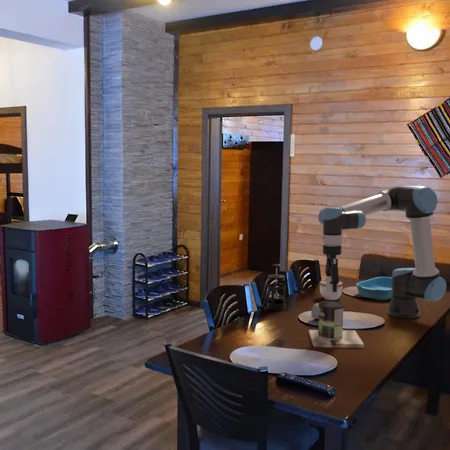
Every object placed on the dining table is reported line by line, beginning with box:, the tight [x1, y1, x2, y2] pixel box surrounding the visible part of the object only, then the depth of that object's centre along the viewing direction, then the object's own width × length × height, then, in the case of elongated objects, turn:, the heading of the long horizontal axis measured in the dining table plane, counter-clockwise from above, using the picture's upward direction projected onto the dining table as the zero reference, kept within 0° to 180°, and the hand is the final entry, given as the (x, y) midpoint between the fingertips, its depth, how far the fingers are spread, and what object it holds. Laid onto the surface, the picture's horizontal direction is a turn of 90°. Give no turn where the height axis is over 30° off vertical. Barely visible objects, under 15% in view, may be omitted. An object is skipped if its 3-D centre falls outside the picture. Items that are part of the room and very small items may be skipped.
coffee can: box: [317, 300, 345, 340], centre depth 218 cm, size 10×10×14 cm
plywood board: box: [308, 329, 365, 349], centre depth 219 cm, size 20×18×2 cm
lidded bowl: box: [319, 279, 343, 301], centre depth 290 cm, size 13×13×11 cm
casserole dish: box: [355, 276, 392, 301], centre depth 300 cm, size 37×22×7 cm, turn 135°
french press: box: [266, 263, 286, 311], centre depth 270 cm, size 12×9×23 cm
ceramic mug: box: [310, 302, 319, 321], centre depth 249 cm, size 11×8×8 cm
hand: (331, 295), depth 217 cm, fingers open, 13 cm apart
